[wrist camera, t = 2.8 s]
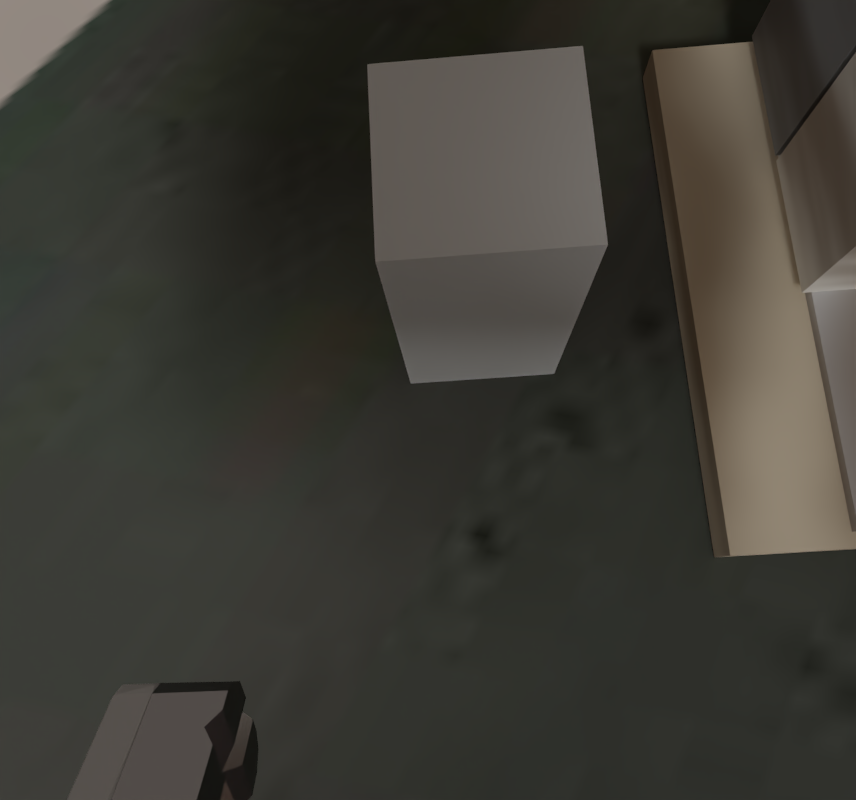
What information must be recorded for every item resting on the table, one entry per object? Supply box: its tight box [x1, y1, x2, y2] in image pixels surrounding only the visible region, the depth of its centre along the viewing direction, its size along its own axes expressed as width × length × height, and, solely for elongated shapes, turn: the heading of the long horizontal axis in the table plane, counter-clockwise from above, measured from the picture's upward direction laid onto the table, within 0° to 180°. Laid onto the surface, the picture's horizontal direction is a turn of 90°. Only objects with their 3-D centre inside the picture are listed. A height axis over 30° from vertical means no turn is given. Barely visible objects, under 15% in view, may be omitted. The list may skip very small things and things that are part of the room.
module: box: [367, 46, 608, 384], centre depth 21 cm, size 5×5×10 cm
